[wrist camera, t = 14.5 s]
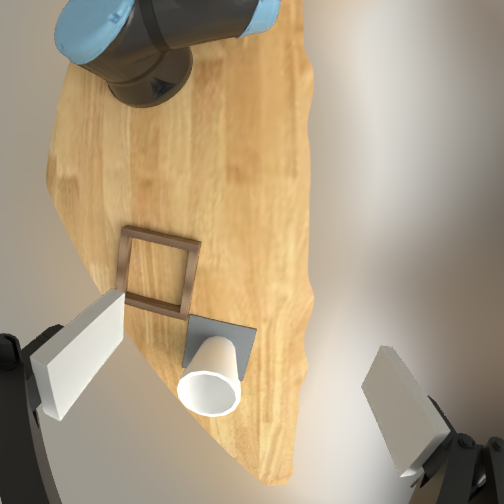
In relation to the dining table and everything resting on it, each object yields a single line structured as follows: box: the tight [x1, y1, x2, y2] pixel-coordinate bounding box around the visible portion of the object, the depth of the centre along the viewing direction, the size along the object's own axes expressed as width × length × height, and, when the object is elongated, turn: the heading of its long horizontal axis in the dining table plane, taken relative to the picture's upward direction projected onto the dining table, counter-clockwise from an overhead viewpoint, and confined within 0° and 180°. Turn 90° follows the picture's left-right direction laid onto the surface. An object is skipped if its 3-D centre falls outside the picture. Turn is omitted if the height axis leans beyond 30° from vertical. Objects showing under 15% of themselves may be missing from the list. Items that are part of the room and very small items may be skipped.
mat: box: [182, 314, 257, 381], centre depth 52 cm, size 12×12×1 cm
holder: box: [116, 225, 201, 321], centre depth 48 cm, size 13×13×2 cm
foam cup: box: [177, 336, 241, 417], centre depth 46 cm, size 10×9×13 cm
